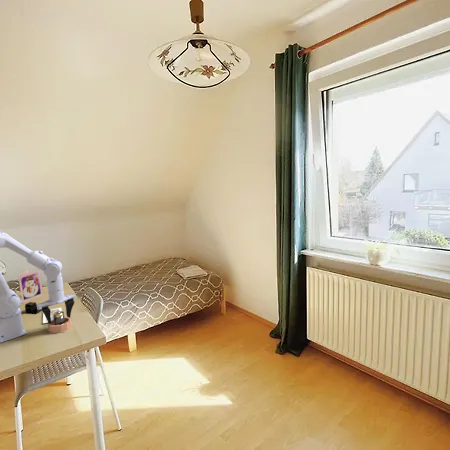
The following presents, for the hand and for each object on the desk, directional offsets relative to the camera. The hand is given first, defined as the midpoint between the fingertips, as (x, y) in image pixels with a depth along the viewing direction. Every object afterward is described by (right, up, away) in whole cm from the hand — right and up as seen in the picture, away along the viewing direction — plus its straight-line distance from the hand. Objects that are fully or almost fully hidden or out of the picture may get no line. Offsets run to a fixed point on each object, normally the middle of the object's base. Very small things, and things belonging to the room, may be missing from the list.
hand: (59, 319), depth 134 cm
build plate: (-23, -2, +19) cm, 30 cm away
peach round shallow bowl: (0, -4, +1) cm, 4 cm away
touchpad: (-10, -3, +13) cm, 16 cm away
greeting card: (-35, +1, +35) cm, 49 cm away
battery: (0, -3, 0) cm, 3 cm away
